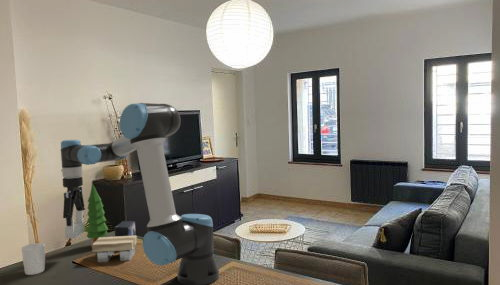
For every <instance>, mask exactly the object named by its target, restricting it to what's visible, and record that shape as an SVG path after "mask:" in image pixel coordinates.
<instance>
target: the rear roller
mask: <svg viewBox="0 0 500 285" xmlns="http://www.w3.org/2000/svg"><path fill="white" fill-rule="evenodd" d="M135 253H136V245H135V246H134V248H133V249H132V250H122V251H119V260H120V262H124V261H125V262H126V261H131V260H132V258H133V257H134V255H135Z"/></svg>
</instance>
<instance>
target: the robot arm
mask: <svg viewBox="0 0 500 285" xmlns="http://www.w3.org/2000/svg"><path fill="white" fill-rule="evenodd" d="M181 123H182V122H181V115H180V113H179V111H178V110H177V109H176V108H175V107H174V106H172V105H171V104H168V103H152V102H151V103H150V102H149V103H147V102H139V103H130V104H128V105H127V106H125V107H124V109H123V110H122V113H121V115H120V117H119V130H120V133H121V135H122V136H120V137H118V138H116V139H115V140H113V141H112V142H109V143H108V142H107V143H100V144H98V143H97V144H81V141H80V140H79V139H64V140H62V141H61V142H60V160H61V172H62V173H61V174H62V177H63V178H62V187H63V188H67V190H66V192H64V193H63V211H62V212H63V215H62V218H63V219H65V226H66V228H65V229H66V230H67V234H71V233H74V223H75V222H84V212H83V211H85V209H86V208H85V201H84V195H83V185H84V184H83V182H84V181H83V165H85V166H87V165H89V166H90V165H95V164H98V163H106V162H113V161H115V162H116V161H122V160H124V159H126V158H127V156H128V155H129V154H131V153H133V152H134V151H136V152H137V158H138V163H139V168H140V175H141V178H142V183H143V184H142V185H143V188H144V195H145V199H146V203H147V208H148V213H149V221H148V223H147V224H146V228H147V232H146V233H145V234H144V236H143V239H142V242H141V243H142V249H143V252H144V255H145V256H146V257H147V259H148V260H149V261H151V263H153V264H154V265H156V266H160V267H161V266H165V265H168V264H173V263H174V262H176V261H179V260H180V263H179V265H178V270H177V272H176V273H177V278H176V279H177V281H178V282H179V283H180V284H182V285H209V284H211V283H214V282H215V281H217V280H218V279H219V277H220V270H219V267H218V263H217V261H216V257H215V256H214V255H215V254H214V251H215V250H214V224H213V219H212V217H211V216H210V215H208V214H202V213H186V214H181V215H179V214H177V213H176V206H175V201H174V196H173V191H172V186H171V181H170V177H169V171H168V166H167V160H166V156H165V152H164V146H163V145H164V143H165V141H166V138H168V137H170V136H172V135H174V134H175V133H176V132H178V130H179V129H180V127H181ZM74 208H75V209H76V210H75V222H74V216H73V213H74Z"/></svg>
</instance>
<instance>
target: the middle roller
mask: <svg viewBox="0 0 500 285" xmlns="http://www.w3.org/2000/svg"><path fill="white" fill-rule="evenodd" d="M96 253H97V254H96V255H97V263H108V262H109V261H110V259H111V258H112V257H113V256H114V255H115V251H103V252H96ZM112 255H113V256H112Z"/></svg>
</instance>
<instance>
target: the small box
mask: <svg viewBox="0 0 500 285" xmlns="http://www.w3.org/2000/svg"><path fill="white" fill-rule="evenodd" d="M135 235H136V220H135V221H134V220H129V221H128V220H123V221H121V222H120V223H118V224H117V225H115V226H114V237H115V236H135Z"/></svg>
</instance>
